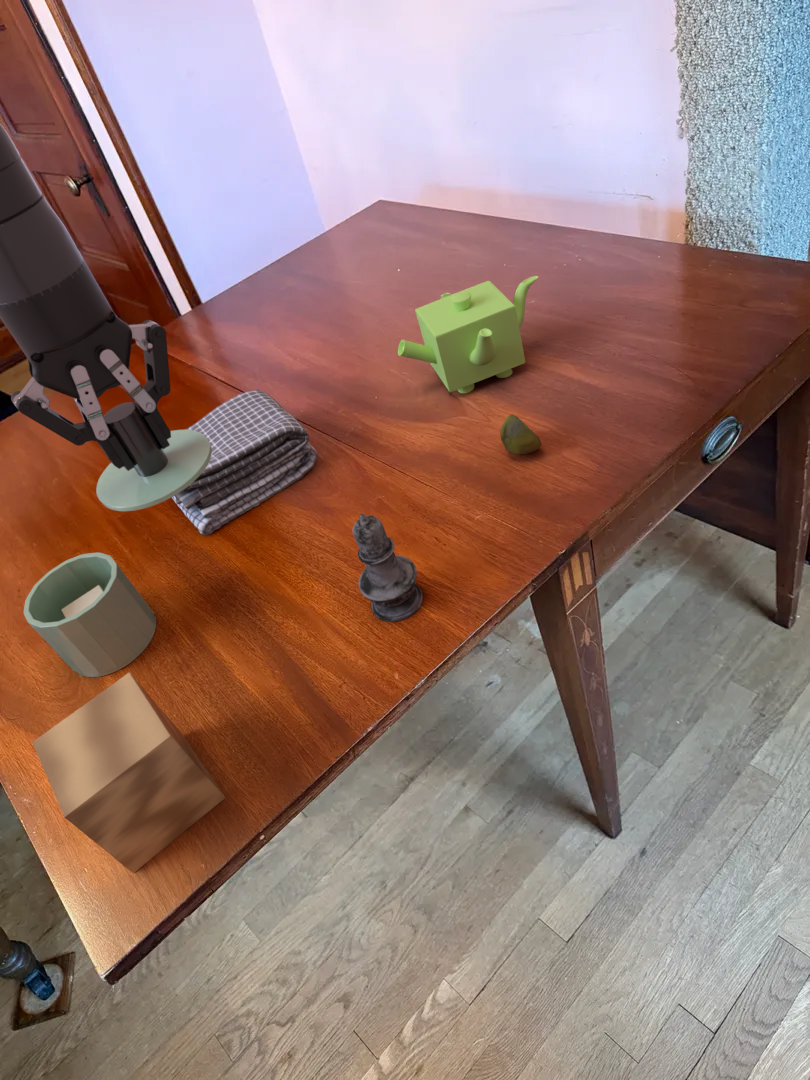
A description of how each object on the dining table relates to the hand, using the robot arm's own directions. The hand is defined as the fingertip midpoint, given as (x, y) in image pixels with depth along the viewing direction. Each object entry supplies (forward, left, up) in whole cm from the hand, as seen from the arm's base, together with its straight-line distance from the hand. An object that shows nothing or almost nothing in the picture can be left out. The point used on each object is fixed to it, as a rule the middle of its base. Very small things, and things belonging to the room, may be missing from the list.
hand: (145, 454), depth 67 cm
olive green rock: (+35, -8, -21) cm, 42 cm away
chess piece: (+11, -14, -21) cm, 28 cm away
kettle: (+44, +9, -21) cm, 50 cm away
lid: (0, 0, -2) cm, 2 cm away
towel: (+11, +20, -21) cm, 31 cm away
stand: (-17, -15, -20) cm, 30 cm away
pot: (-13, +7, -21) cm, 25 cm away
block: (-13, +7, -20) cm, 25 cm away
